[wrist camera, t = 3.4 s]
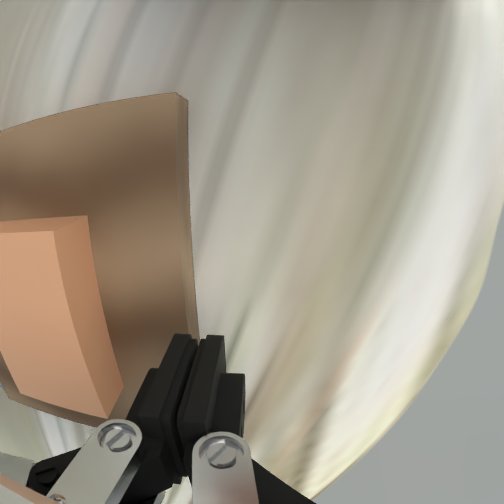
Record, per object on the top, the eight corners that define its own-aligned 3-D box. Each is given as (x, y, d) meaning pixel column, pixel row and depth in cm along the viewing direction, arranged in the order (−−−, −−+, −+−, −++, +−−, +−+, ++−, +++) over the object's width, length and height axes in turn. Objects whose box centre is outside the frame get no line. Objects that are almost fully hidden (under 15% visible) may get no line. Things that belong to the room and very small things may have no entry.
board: (-37, 152, 12) (-57, 155, 10) (187, 100, 12) (175, 92, 10) (20, 383, 18) (9, 398, 16) (209, 421, 17) (205, 445, 15)
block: (-1, 221, 11) (-34, 235, 9) (87, 215, 11) (53, 230, 9) (40, 368, 14) (20, 393, 12) (124, 386, 14) (107, 418, 12)
